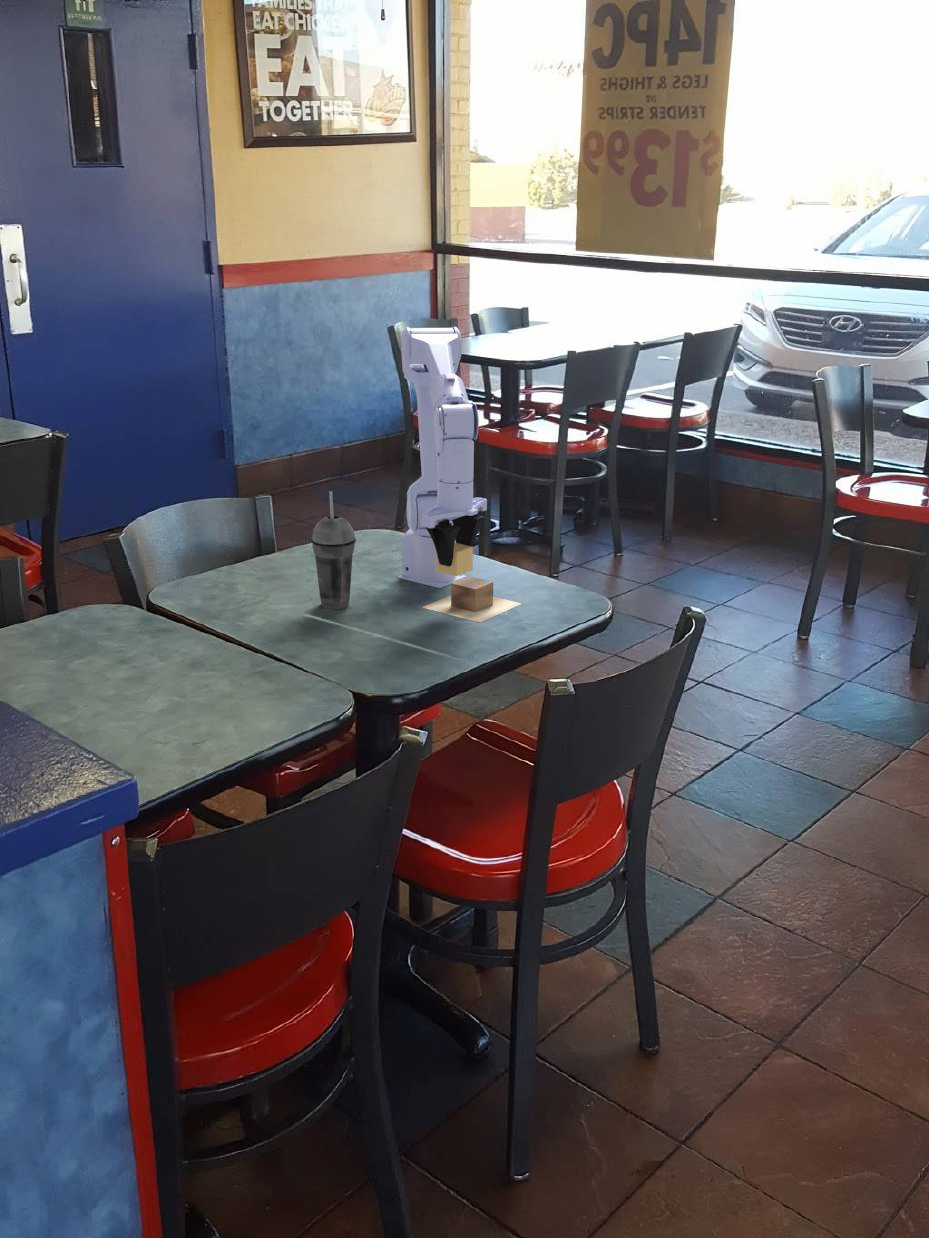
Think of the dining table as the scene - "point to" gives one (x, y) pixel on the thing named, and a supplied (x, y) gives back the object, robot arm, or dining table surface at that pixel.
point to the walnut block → (472, 594)
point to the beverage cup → (334, 559)
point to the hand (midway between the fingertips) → (454, 561)
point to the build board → (479, 616)
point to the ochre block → (458, 561)
